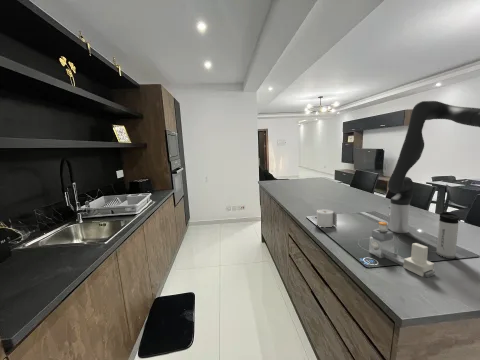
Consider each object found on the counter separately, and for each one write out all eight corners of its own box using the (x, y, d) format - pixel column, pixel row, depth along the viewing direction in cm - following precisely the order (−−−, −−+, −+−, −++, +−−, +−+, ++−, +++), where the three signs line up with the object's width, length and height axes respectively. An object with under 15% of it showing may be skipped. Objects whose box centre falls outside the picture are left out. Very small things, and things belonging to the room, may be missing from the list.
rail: (384, 257, 98) (384, 254, 98) (390, 255, 100) (390, 252, 99) (427, 277, 82) (427, 274, 82) (434, 275, 83) (434, 271, 83)
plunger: (376, 231, 101) (376, 222, 101) (381, 230, 102) (381, 221, 102) (383, 233, 98) (383, 224, 97) (388, 232, 99) (388, 223, 98)
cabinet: (368, 252, 103) (369, 230, 101) (382, 248, 106) (383, 227, 104) (380, 258, 98) (380, 235, 96) (394, 254, 100) (395, 231, 99)
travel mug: (449, 252, 99) (453, 212, 96) (458, 259, 93) (462, 216, 90) (433, 250, 101) (436, 211, 98) (441, 257, 95) (444, 216, 92)
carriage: (403, 267, 89) (404, 243, 87) (414, 263, 91) (416, 240, 90) (422, 276, 82) (423, 250, 81) (433, 272, 85) (435, 247, 83)
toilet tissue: (316, 222, 148) (315, 209, 146) (334, 223, 144) (334, 209, 143) (317, 228, 138) (317, 213, 136) (336, 229, 134) (337, 214, 133)
